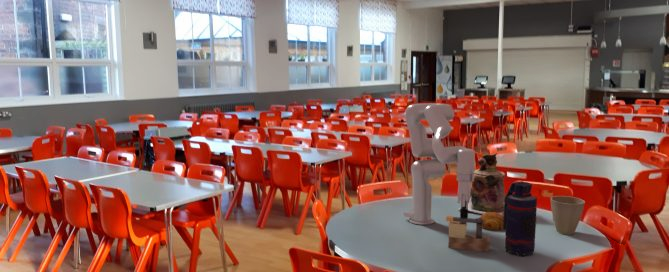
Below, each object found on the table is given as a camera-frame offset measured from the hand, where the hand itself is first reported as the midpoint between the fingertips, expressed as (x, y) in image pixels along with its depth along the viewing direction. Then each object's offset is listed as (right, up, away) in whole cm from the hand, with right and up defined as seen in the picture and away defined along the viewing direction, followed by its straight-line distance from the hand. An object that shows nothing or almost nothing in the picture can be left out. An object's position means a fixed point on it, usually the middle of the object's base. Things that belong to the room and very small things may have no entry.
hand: (463, 217), depth 234 cm
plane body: (+1, -13, -5) cm, 13 cm away
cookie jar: (+27, -5, +56) cm, 62 cm away
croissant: (+21, -9, +26) cm, 35 cm away
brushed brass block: (-4, -7, -4) cm, 9 cm away
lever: (-1, -1, -6) cm, 6 cm away
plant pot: (+53, -10, +16) cm, 56 cm away
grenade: (+21, -13, -9) cm, 26 cm away
